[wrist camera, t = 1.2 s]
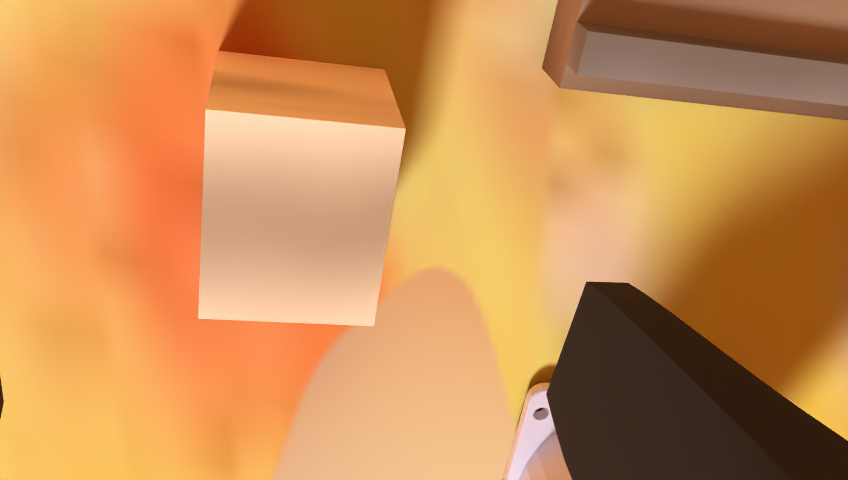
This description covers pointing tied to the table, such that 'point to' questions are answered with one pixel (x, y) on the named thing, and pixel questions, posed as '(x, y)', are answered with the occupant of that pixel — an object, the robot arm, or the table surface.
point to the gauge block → (297, 190)
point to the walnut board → (707, 52)
